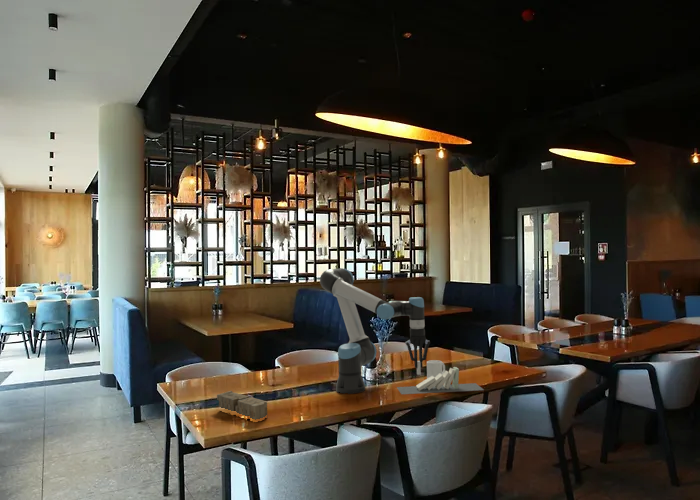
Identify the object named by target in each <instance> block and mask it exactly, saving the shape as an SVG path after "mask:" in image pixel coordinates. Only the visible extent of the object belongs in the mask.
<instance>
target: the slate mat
mask: <svg viewBox="0 0 700 500" xmlns="http://www.w3.org/2000/svg"><path fill="white" fill-rule="evenodd" d="M443 385H444V384H443ZM443 385H442V386H441V388H440V389H439V390H438V389H437V388H436V387H435V386H434V387H433V388H431V389H430V390H428V389H427V387H425V388H423V389H422V390H420V391H419V390H418V389H417V387H416V386H415V385H412V386H396V388H397V390H398V392H399V393H400V395H417V394H434V393H455V392H473V391H474V392H475V391H484V390H485V389H484V388H482V387H481V386H480V385H479V384H477V383H476V382H475V383H474V382H472V383H458V389H455V388H453V387H452V384H450V387H449V389H446V388H445V387H444V386H443Z"/></svg>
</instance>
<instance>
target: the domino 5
mask: <svg viewBox="0 0 700 500" xmlns="http://www.w3.org/2000/svg"><path fill="white" fill-rule="evenodd" d="M452 369H454V370H455V371H456V372H455V374H454V377H453V379H452V382H451V383H452V387H453V388H455V389H458V384H459V380H460V379H459V377H460V369H459V368H458V367H457V366H453V367H452Z"/></svg>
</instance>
